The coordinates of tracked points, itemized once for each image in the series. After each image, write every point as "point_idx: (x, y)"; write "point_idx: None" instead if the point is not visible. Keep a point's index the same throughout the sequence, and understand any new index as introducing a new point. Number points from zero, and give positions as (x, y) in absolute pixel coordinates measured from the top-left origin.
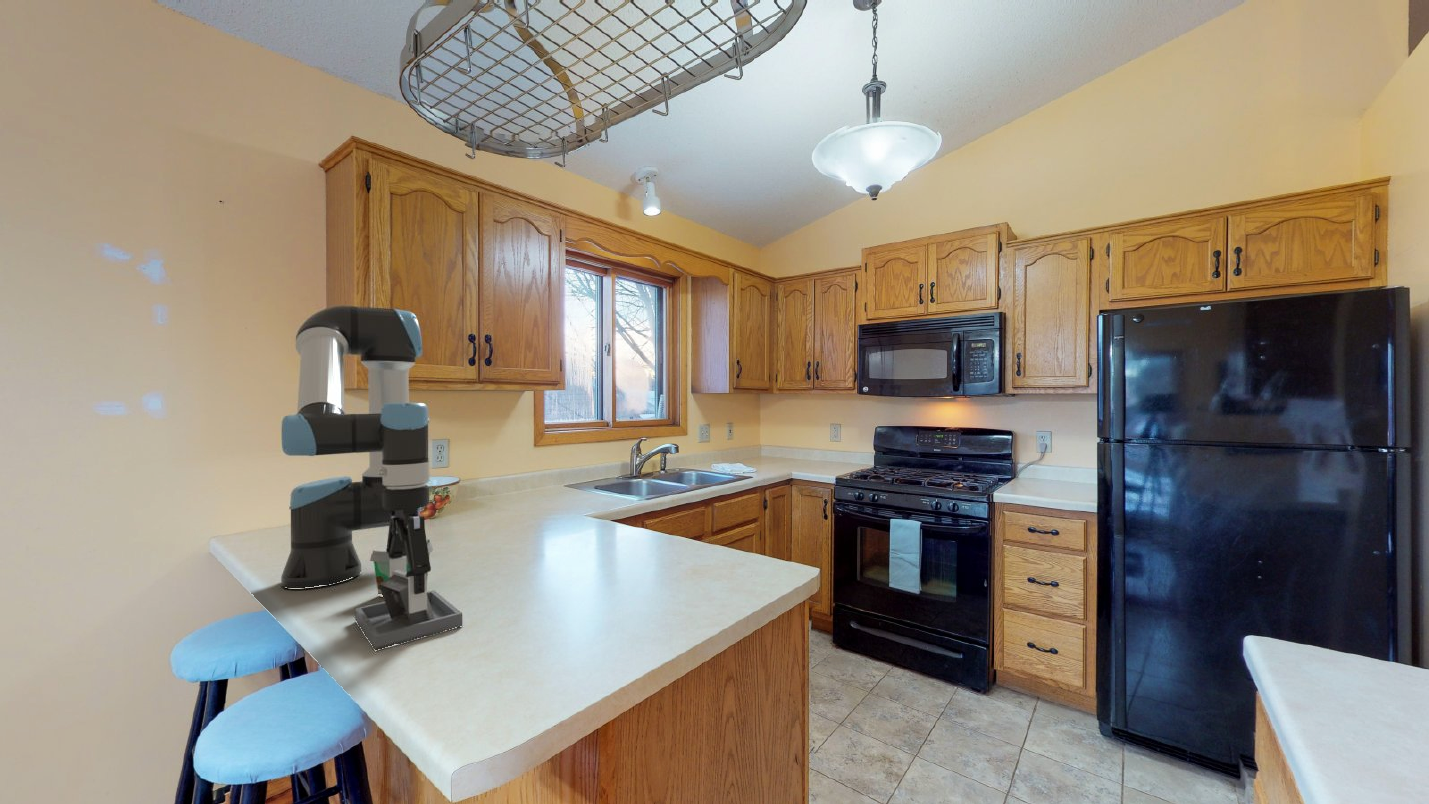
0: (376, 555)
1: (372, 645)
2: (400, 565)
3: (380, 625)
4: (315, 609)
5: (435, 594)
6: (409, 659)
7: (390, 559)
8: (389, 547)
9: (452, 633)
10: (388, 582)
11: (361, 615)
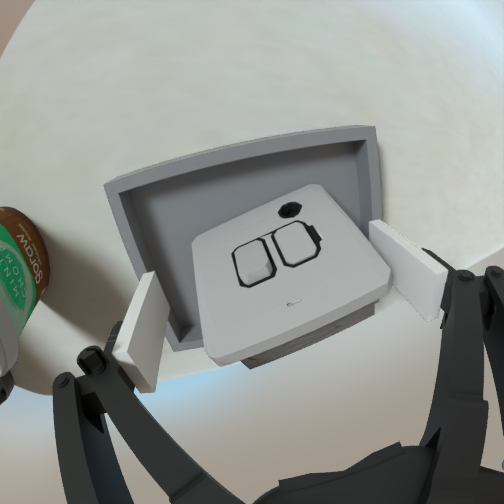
0: (7, 370)
1: None
2: (143, 345)
3: None
4: None
5: (148, 179)
6: (428, 235)
7: (145, 391)
8: (104, 424)
9: (378, 152)
10: (272, 352)
11: None
